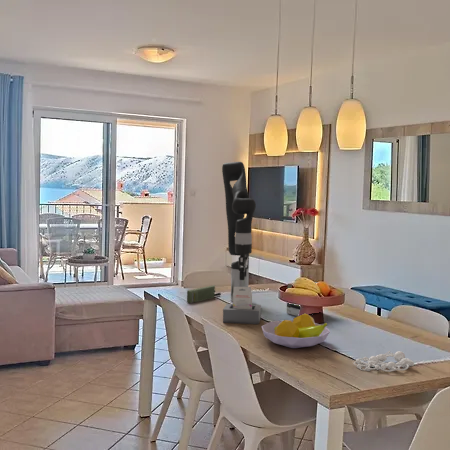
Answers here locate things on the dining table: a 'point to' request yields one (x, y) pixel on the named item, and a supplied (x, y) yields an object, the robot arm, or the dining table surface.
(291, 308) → the tea box
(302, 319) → the fruit bowl
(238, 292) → the ink box
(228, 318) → the desk holder
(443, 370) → the dining table surface
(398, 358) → the tangled rod sculpture
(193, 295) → the handheld radio
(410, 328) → the dining table surface
